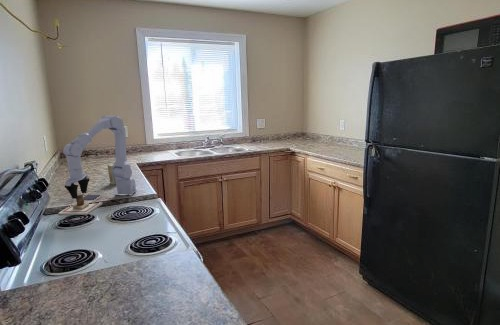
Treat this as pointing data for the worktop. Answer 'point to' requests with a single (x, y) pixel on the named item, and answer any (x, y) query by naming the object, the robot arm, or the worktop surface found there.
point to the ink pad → (91, 197)
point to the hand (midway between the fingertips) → (79, 195)
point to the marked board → (80, 211)
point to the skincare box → (112, 178)
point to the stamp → (80, 203)
